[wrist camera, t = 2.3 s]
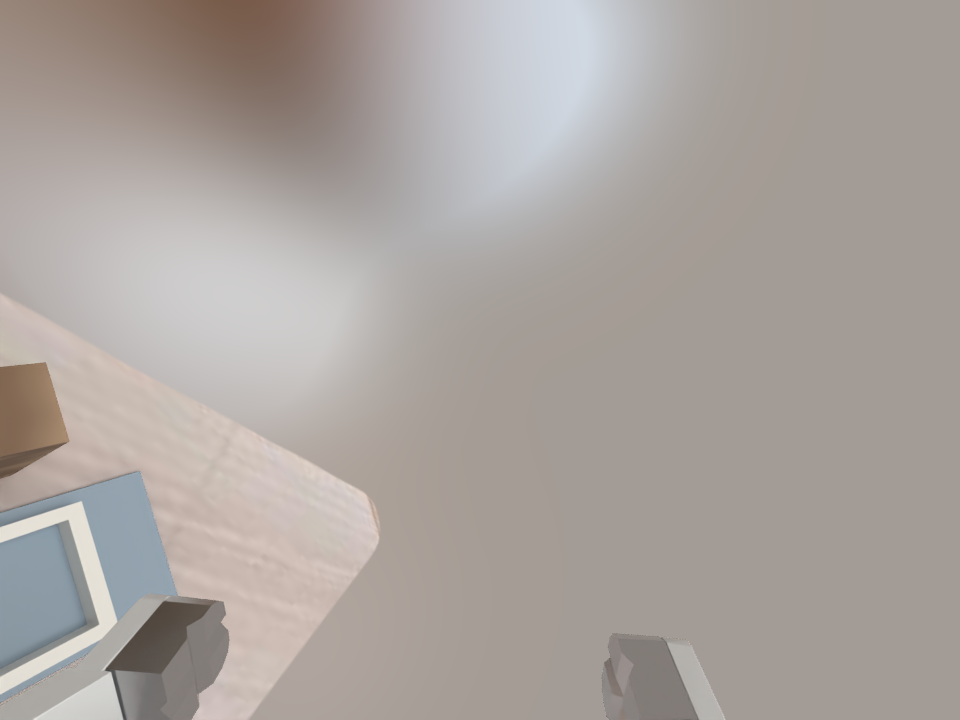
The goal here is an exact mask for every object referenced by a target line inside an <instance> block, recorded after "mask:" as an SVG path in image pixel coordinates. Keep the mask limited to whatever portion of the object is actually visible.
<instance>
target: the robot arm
mask: <svg viewBox="0 0 960 720" xmlns="http://www.w3.org/2000/svg"><path fill="white" fill-rule="evenodd" d="M225 615H226V612H225V607H224V602H221V601H215V600H207V599H198V598H189V597H180V596H170V595H160V594H150V593H149V594H147V595H145V596H143V597H142V598H140V599H139V600H138V601H137V602H136V603H135V604H134V605H133V606H132V607H131V608H130V609H129V610H128V611H127V612H126V613H125V615H124V616H123V617H122V618H121V619H120V620H119V621H118V622H117V623H116V624H115V625H114V626H113V627H112V629H111V630H110V631H109V632H108V633H107V634H106V635H105V636H104V637H103V638H102V639H101V640H100V641H99V643H98V644H97V645H96V646H95V647H94V648H93V649H92V650H91V651H90V652H89V653H88V654H87V655H86V657H85V658H84V659H83V660H82V661H81V662H80V663H79V664H78V665H77V666H76V667H75V668H66V669H64V670H62V671H60V672H59V673H57V674H55V675H53V676H51V677H50V678H48V679H46V680H44V681H43V682H41V683H39V684H37V685H36V686H34V687H32V688H30V689H29V690H27V691H25V692H23V693H22V694H20V695H18V696H16V697H15V698H13V699H11V700H9V701H8V702H6V703H4V704H2V705H0V720H191V719H192V718H193V716H194V714H195V713H196V711H197V709H198V708H199V693H201V692H202V691H203V690H205V689H206V688H207V687H209V686H210V685H211V684H213V683H214V681H215V679H216V678H217V676H218V674H219V672H220V671H221V669H222V666H223V664H224V661H225V658H226V655H227V652H228V646H229V633H228V630H227V629H226V628H225V627H224V626H223V624H222V623H221V621H222V619H223V618H224V616H225ZM608 648H609V653H610V657H611V658H609V659H608V660H607V661H606V662H605V663H604V667H603V673H602V693H603V701H604V707H605V711H606V716H607V718H608V719H609V720H725V717H724V715H723V713H722V711H721V709H720V707H719V704H718V702H717V700H716V698H715V696H714V694H713V692H712V689H711V687H710V685H709V683H708V681H707V678H706V676H705V674H704V672H703V670H702V668H701V665H700V663H699V661H698V659H697V657H696V655H695V653H694V650H693V648H692V646H691V644H690V643H689V642H688V641H687V640H686V639H677V638H665V637H662V638H660V637H658V636H643V635H629V634H615V633H614V634H612V636H611V637H610V640H609V644H608Z"/></svg>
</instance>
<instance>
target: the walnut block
mask: <svg viewBox="0 0 960 720" xmlns="http://www.w3.org/2000/svg"><path fill="white" fill-rule="evenodd" d="M67 442H69V438H68V435H67V432H66V428H65V425H64V422H63V418H62V415H61V412H60V408H59V405H58V401H57V398H56V395H55V391H54V388H53V385H52V381H51V378H50V375H49V371H48V368H47V364H46V362H45V363H36V364H26V365H16V366H7V367H0V478H3V477H7V476H11V475H12V474H14V473H16V472H18V471H19V470H21V469H23V468H24V467H26V466H28V465H30V464H31V463H33V462H35V461H36V460H38V459H40V458H42V457H43V456H45V455H47V454H48V453H50V452H52V451H54V450H55V449H57V448H59V447H60V446H62V445H64V444H66V443H67Z"/></svg>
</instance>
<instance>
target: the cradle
mask: <svg viewBox="0 0 960 720" xmlns="http://www.w3.org/2000/svg"><path fill="white" fill-rule="evenodd" d="M149 593H150V594H160V595H170V596H178V595H177V592H176V588H175V585H174V582H173V578H172V575H171V572H170V568H169V565H168V562H167V558H166V555H165V552H164V549H163V545H162V542H161V539H160V535H159V532H158V529H157V525H156V522H155V519H154V516H153V512H152V509H151V506H150V502H149V499H148V496H147V492H146V489H145V486H144V483H143V479H142V476H141V473H140V471H138V472H135V473H131V474H128V475H125V476H121V477H118V478H115V479H112V480H108V481H105V482H102V483H98V484H95V485H92V486H88V487H85V488H82V489H78V490H75V491H72V492H68V493H65V494H62V495H58V496H55V497H52V498H48V499H45V500H42V501H39V502H35V503H32V504H29V505H25V506H22V507H19V508H15V509H12V510H9V511H5V512H2V513H0V703H1V702H2V701H4V700H6V699H8V698H10V697H11V696H13V695H15V694H17V693H19V692H20V691H22V690H24V689H26V688H27V687H29V686H31V685H33V684H35V683H36V682H38V681H40V680H42V679H44V678H45V677H47V676H49V675H51V674H53V673H54V672H56V671H58V670H60V669H61V668H63V667H65V666H67V665H69V664H70V663H72V662H74V661H76V660H78V659H79V658H81V657H83V656H85V655H86V654H88V653H89V652H90V651H91V650H92V649H93V648H94V647H95V646H96V645H97V644H98V643H99V641H100V640H101V639H102V638H103V637H104V636H105V635H106V634H107V633H108V632H109V631H110V630H111V629H112V627H113V626H114V625H115V624H116V623H117V622H118V621H119V620H120V619H121V618H122V617H123V616H124V615H125V613H126V612H127V611H128V610H129V609H130V608H131V607H132V606H133V605H134V604H135V603H136V602H137V601H138V600H139V599H140V598H142V597H143V596H145V595H147V594H149Z"/></svg>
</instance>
